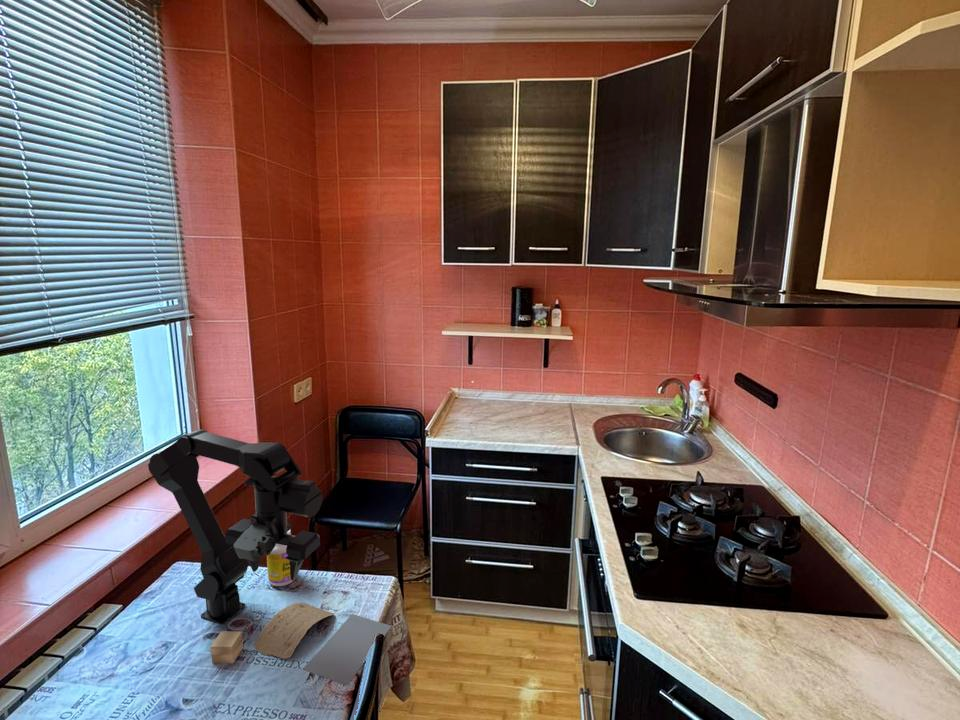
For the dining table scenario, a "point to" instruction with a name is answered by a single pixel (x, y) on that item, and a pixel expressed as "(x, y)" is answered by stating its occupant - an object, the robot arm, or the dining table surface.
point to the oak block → (226, 647)
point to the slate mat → (346, 649)
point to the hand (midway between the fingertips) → (274, 574)
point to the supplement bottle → (279, 566)
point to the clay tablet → (288, 629)
